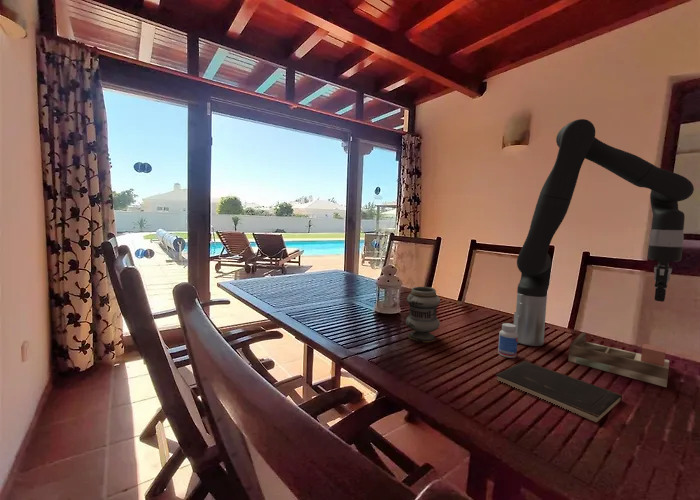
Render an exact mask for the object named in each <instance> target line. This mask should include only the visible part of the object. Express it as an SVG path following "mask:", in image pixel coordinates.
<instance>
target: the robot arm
mask: <svg viewBox="0 0 700 500" xmlns="http://www.w3.org/2000/svg"><path fill="white" fill-rule="evenodd" d="M555 140H556V142H555V143H556V145H557V147H558V150H557V151H558V152H557V155H556V159H555V161H554V164H553V167H552V169H551V171H550V173H549V174H548V176H547V178H546V179H545V182H544V183H543V186H542V187H541V190H540V192H539V195H538V199H537V202H536V204H535V208H534V211H533V215H532V219H531V222H530V226H529V230H528V234H527V236H526V238H525V241H524V242H523V245H522V247H521V249H520V251H519V253H518V255H517V258H516V259H517V260H516V266H517V269H518V271H519V272H520V273H521V275H520V279H519V283H518V284H517V288H516V289H517V290H516V293H517V294H516V305H515V311H514V313H513V324H514V325H516V331H515V332H516V333H517V334H518V343H517V344H522V345H526V346H531V347H540V346H543V345H544V341H545V326H546V325H545V324H546V314H547V312H546V311H547V301H548V291H549V288H550V281H551V280H550V279H551V272H552V258H551V256H550V254H549V253H548V252H549V249H550V245H551V242H552V239H553V237H554V236H555V235H556V232H557V231H558V229H559V228H560V226H561V224H562V222H563V221H564V219H565V217H566V215H567V213H568V210H569V207H570V205H571V201H572V199H573V196H574V192H575V189H576V186H577V183H578V178H579V175H580V171H581V168H582V165H583V163H584V161H585V159H586V160H587V161H590V162H592V163H594V164H595V165H598V166H600V167H602V168H604V169H605V170H607V171H609V172H611V173H613V174H614V175H616V176H617V177H619V178H621V179H623V180H624V181H627V182H628V183H630V184H632V185H633V186H636V187H638V188H646V189H649V190H650V195H649V200H650V207H651V211H652V216H653V217H652V220H651V221H652V223H651V230H650V231H651V232H650V235H649V242H648V251H647V252H648V253H647V259H648V260H650V261H657V262H658V263H657V265H654V268H653V272H654V275H653V280H654V281H655V283H654V290H655V293H654V301H657V302H665V300H666V294H667V293H666V292H667V291H666V290H667V288H668V286H669V285H668V284H669V282H670V279H671V274H672V271H673V266H670V265H669V263H670V262H674V263H675V262H678V263H679V262H681V260H682V255H683V248H684V239H685V238H684V237H685V236H684V229H685V228H684V227H685V213H684V212H683V211H682V210H679V203H678V202H681V201H685V200H687V199H689V198H690V197H691V196H692V195H693V193H694V191H695V188H694V184H693V182H692V181H691V180H690V179H688V178H686V177H685V176H684V175H680V174H679V173H676V172H673V171H670V170H667V169H664V168H661V167H658V166H656V165H654V164H653V163H651V162H649V161H647V160H646V159H643V158H642V157H640V156H638V155H636V154H634V153H631V152H628V151H625V150H622V149H620V148H616V147H613V146H611V145H609V144H608V143H605V142H603V141H601V140H599V138H596V127H595V126H594V123H592V121H591V120H589V119H585V118H579V119H575V120H573V121H570V122H568V124H566V125H565V126H563V127H562V128H561V129H560V130H559V131H558V132H557V135H556V138H555Z"/></svg>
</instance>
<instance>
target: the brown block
mask: <svg viewBox="0 0 700 500" xmlns="http://www.w3.org/2000/svg"><path fill="white" fill-rule="evenodd" d="M666 349H667V348H666V347H661V346H658V345H653V344H647V343H643V344H642V346H641V353H640V354H641V361H644V362H648V363H652V364H656V365H661V366H664V361H665V360H666V359H665V358H666Z"/></svg>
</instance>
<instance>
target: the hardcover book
mask: <svg viewBox="0 0 700 500" xmlns="http://www.w3.org/2000/svg"><path fill="white" fill-rule="evenodd" d="M495 376H496V381H497V380H498V381H497V382H499V381H501V382H500V383H502V382H503V383H502V384H504V383H506V384H508V385H507V386H509V385H510V386H509V387H511V386H512V387H511V388H514V387H515V388H514V389H516V388H517V390H518V389H520V390H519V391H521V390H522V391H521V392H523V391H525V392H527V393H526V394H528V393H530V394H532V395H535V396H537V397H539V398H538V399H540V398H541V399H540V400H542V399H544V400H546V401H545V402H547V401H548V402H547V403H549V402H551V403H553V404H552V405H554V404H555V405H554V406H556V405H558V406H560V407H559V408H561V407H562V408H561V409H563V408H564V409H563V410H566V409H567V410H566V411H568V410H569V411H568V412H570V411H571V413H573V414H575V413H576V414H575V415H577V414H578V415H577V416H580V417H583V418H585V419H587V420H590V421H592V422H594V423H598V422H599V421H600V420H601V419H603V417H605V415H607V414H608V413H609V412H610V411H611V410H612V409H613V408H614V407H615V406H616V405H618V404H619V402H622V401H623V399H622V398H623V396H622V394H621V393H618V392H614V391H612V390H609V389H607V388H603V387H601V386H599V385H595V384H593V383H592V384H591V383H590V382H587V381H584V380H581V379H578V378H575V377H572V376H569V375H567V374H563V373H560V372H557V371H555V370H552V369H549V368H547V367H544V366H542V365H541V366H540V365H537V364H534V363H532V362H530V361H527V360H523V361H521V362H519V363H517V364H515V365H513V366H510V367H508V368H505V369H504V370H501V371H499V372H497V373H495ZM506 384H505V385H506ZM525 392H524V393H525ZM530 394H529V395H530ZM532 395H531V396H532ZM535 396H534V397H535ZM537 397H536V398H537ZM544 400H543V401H544ZM551 403H550V404H551ZM558 406H557V407H558Z"/></svg>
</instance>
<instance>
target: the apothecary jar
mask: <svg viewBox="0 0 700 500" xmlns="http://www.w3.org/2000/svg"><path fill="white" fill-rule="evenodd" d="M406 302H407V303H408V304H409V313H408V316H406V319H405V324H406V326H407V327H408V328H409V329H410V330H412V331H411V332H409V333H408V334H407V337H408V339H410V340H411V339H413V340H412V341H414V340H416V341H415V342H421V341H422V342H421V343H431V341H433V342H434V340H435V339H437V338H436V336H435V335H434V334H432V332H435V331H436V330H437V329H438V328H439V327H440V325H441V322H440V320H439V319H438V316H437V307H438V306H439V305H441V304H440V303H441V298H440V297H439V296H438V295H437V291H436V289H435V288H434V287H430V286H429V287H428V286H414V287H412V288H411V290H410V293H409V294H408V295H407V296H406ZM435 341H436V340H435Z"/></svg>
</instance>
